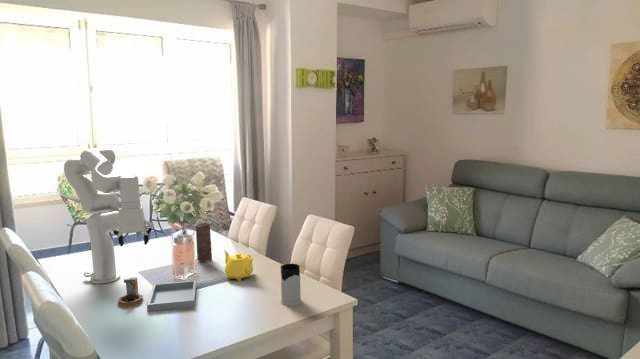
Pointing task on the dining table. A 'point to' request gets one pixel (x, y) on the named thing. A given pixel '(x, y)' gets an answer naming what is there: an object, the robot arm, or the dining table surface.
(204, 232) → the candle
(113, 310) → the dining table surface
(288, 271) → the glass holder
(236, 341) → the dining table surface
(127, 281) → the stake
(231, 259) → the teapot
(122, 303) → the ring
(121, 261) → the dining table surface
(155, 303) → the tray
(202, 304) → the dining table surface
